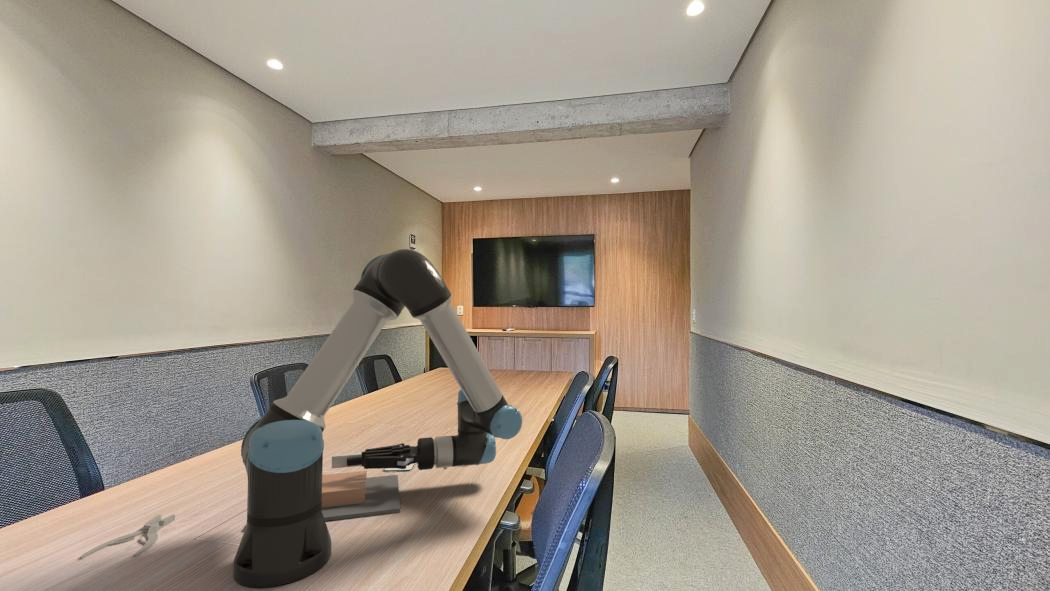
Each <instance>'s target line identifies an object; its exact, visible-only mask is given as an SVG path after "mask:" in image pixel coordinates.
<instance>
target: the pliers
mask: <svg viewBox="0 0 1050 591" xmlns="http://www.w3.org/2000/svg"><path fill="white" fill-rule="evenodd" d="M175 521H176V514H171V515H168V516H167V517H164V518H162V514H157V515H156V516H154V517H152V518H151V519H149V520H148V521H146V522H145V523H144V524H143V528H142V529H140V530H138V531H135V532H132V533H128V534H125V535H122V536H118V537H116V538H113V539H110V540H109V541H106V542H104V543H101V544H99V545H97V546H95V547H93V548H92V549H90V550H89V549H88V551H86V552H85V553H83V554H82V555H80V556H79V558H78V559H79V560H84V559H85V558H87V557H89V556H91V555H94V553H97V552H99V551H101V550H103V549H105V548H107V547H110V546H111V547H112V546H116V545H121V544H125V543H128V542H132V541H133V540H135V538H136V537H138V536H139V543H141V544H142V547H140V549H138V550H137V551H136V552H135V553H134V554H132V558H136V557H138V556H140V555H142V554H143V553H145V552H147V550H149V549H150V548H152V547H153V546H154V545H155V544H156V543H157V540H158V538H159V534H158V533H157V532H158V531H159V530H161V529H162V528H165V527H166V526H168V525H170V524H171V523H173V522H175ZM145 533H147V534H146V537H147V540H144V539H143V537H142V536H140V535H142V534H145Z"/></svg>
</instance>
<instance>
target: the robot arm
mask: <svg viewBox="0 0 1050 591" xmlns="http://www.w3.org/2000/svg"><path fill="white" fill-rule="evenodd" d="M351 293H352V299H353V300H352V303H351V304H350V306H349V308H348V309H347V310H346V312H345V313H344V315H343V316H342V317H341V318H340V320H339V321H338V323H337V324H336V325H335V327H334V329H333V330H332V331H331V333H330V334H329V335H328V337H327V339H326V340H325V341H324V342H323V343H322V346H321V347H320V348H319V350H318V351H317V352H316V353H315V355H314V357H313V358H312V360H311V361H310V363H309V364H308V365H307V366H306V368H305V370H304V371H303V372H302V374H301V375H300V376H299V378H298V379H297V381H296V382H295V384H294V386H293V387H292V388H291V389H290V391H289V392H288V394H287V395H286V396H284V397H282V398H278V399H275V400H273V402H272V403H271V404H270V406H269V407H268V408H267V410H266V411H265V413H264V414H263V416H262V417H260V418H259V419H258V420H256V421H255V422H254V423H253V424H252V425H250V427H249V428H248V429H247V431H246V432H245V434H244V436H243V438H242V442H241V446H240V448H241V449H240V452H241V454H240V457H241V458H242V463H243V465H244V467H245V471H246V474H247V499H246V500H247V508H246V511H247V512H246V525H245V527H246V528H244V531H243V534H242V537H241V539H240V542H239V545H238V548H237V550H236V553H235V556H234V559H233V572H232V576H233V579H234V580H235V581H236V583H238V584H240V585H242V586H245V587H249V588H250V587H251V588H268V587H276V586H282V585H285V584H290V583H292V582H295V581H298V580H299V581H300V580H301V579H304V578H306V577H307V576H310V575H312V574H313V573H316V572H317V571H318V570H319V569H321V568H322V567H323V566H325V565H326V564H327V563H328V561H329V560H330V558H331V556H332V538H331V535H330V532H329V529H328V525H327V523H326V522H327V521H325V519H324V517H323V514H322V475H323V460H324V458H323V457H324V455H323V454H324V449H325V441H324V439H323V438H324V437H323V432H324V430H325V429H326V422H325V416H326V414H327V413H328V411H329V410H330V408H331V407H332V406H333V404H334V402H335V401H336V399H337V398H338V397H339V394H341V392H342V390H343V388H344V387H345V386H346V384H347V383H348V381H349V380H350V378H351V377H352V375H353V373H354V372H355V370H356V369H357V367H359V364H360V363H361V361H362V360H363V359H364V357H365V356H366V354H367V352H369V350H370V347H371V346H372V345H373V344H374V342H375V340H376V339H377V337H378V336H379V334H380V333H381V331H382V330H383V328H384V327H385V325H386V323H388V322H389V321H394V320H397V319H398V317H400V314H401V313H402V311H403V309H404V308H406V309H407V310H408V312H409V314H410V315H411V317H412V319H417V320H419V321H420V323H421V325H422V327H423V328H424V329H425V331H426V333H427V334H428V337H429V338H430V340H431V341H432V343H433V345H434V347H435V348H436V349H437V351H438V353H439V354H440V356H441V358H442V360H443V361H444V363H445V364H446V366H447V368H448V369H449V371H450V373H451V375H452V376H453V377H454V380H455V381H456V383H457V384H458V386H459V388H460V389H459V390H458V395H457V403H456V405H457V435H442V436H435V437H434V438H433V437H420V438H418V439H417V443H416V444H417V445H414V446H413V445H410V444H405V443H404V442H402V443H398V444H394V445H386V446H380V447H373V448H366V449H364V451H362V452H352V453H339V454H332V455H331V469H341V468H352V467H363V469H364V470H369V469H370V470H372V469H377V470H379V469H380V470H381V469H384V468H399V469H405V468H406V466H408V465H410V464H414V463H416V464H417V469H418V470H420V471H427V470H432V469H433V468H434V467H435V469H442V468H443V470H447V469H448V468H452V467H454V468H455V467H466V466H479V465H485V464H489V463H493V461H494V460H495V459H496V457H497V456H496V455H497V444H496V443H497V442H496V438H498V439H502V440H510V439H513V438H515V437H517V435H518V434H519V433H520V432H521V429H522V426H523V416H522V415H523V414H522V413H521V412H520V410H519V409H518V408H517V407H514V406H513V405H512V404H509V403H508V402H507V400H506V399H505V397H504V394H503V393H502V392H501V390H500V388H499V385H498V384H497V382H496V381H495V379H494V377H493V375H492V373H491V372H490V370H489V368H488V367H487V365H486V363H485V361H484V359H483V357H482V356H481V354H480V352H479V350H478V349H477V347H476V345H475V343H474V342H473V340H472V338H471V336H470V334H469V333H468V331H467V329H466V327H465V325H464V324H463V322H462V320H461V319H460V316H459V314H458V313H457V312H456V309H455V308H454V306H453V303H452V302H451V301H452V298H453V295H452V292H451V291H450V289H449V288H448V285H447V283H446V282H445V281H444V279H443V277H442V275H441V274H440V273H439V271H438V269H437V268H436V267H435V266H434V264H433V263H432V262H431V261H430V260H429V258H427V257H426V256H425V255H424V254H423V253H420V252H419V251H417V250H414V249H408V248H403V249H397V250H394V251H392V252H389V253H386V254H385V253H384V254H380V255H378V256H376V257H374V258H373V259H371V260H369V262H368V263H366V265H365V267H364V268H363V270H362V272H361V274H360V280H359V281H358V282H357V284H356V285H355V287H354V288H353V290H352V291H351Z"/></svg>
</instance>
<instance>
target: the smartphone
mask: <svg viewBox="0 0 1050 591" xmlns="http://www.w3.org/2000/svg"><path fill="white" fill-rule="evenodd" d="M414 465H416V464H415V463H414V464H410V465H408V466H406V468H405V469H399V468H383V472H384V471H397V472H411V471H410V470H412V469H414V468H413V467H415V466H414ZM412 471H413V470H412Z"/></svg>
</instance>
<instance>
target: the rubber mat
mask: <svg viewBox="0 0 1050 591" xmlns="http://www.w3.org/2000/svg"><path fill="white" fill-rule="evenodd" d="M399 488H400V487H399V475H398V474H393V475H392V474H390V475H383V476H382V475H381V476H372V477H371V476H370V477H367V484H366V494H365V502H363V503H358V504H350V505H341V506H333V507H324V508H322V514H323V517H324V519H325V522H330V521H329V520H332V521H337V520H338V521H340V520H349V519H355V518H362V517H363V518H364V517H371V516H379V515H387V514H388V515H389V514H394V513H395V514H396V513H401V501H400V489H399ZM244 527H245V528H246V526H244ZM245 528H244V529H245Z"/></svg>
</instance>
